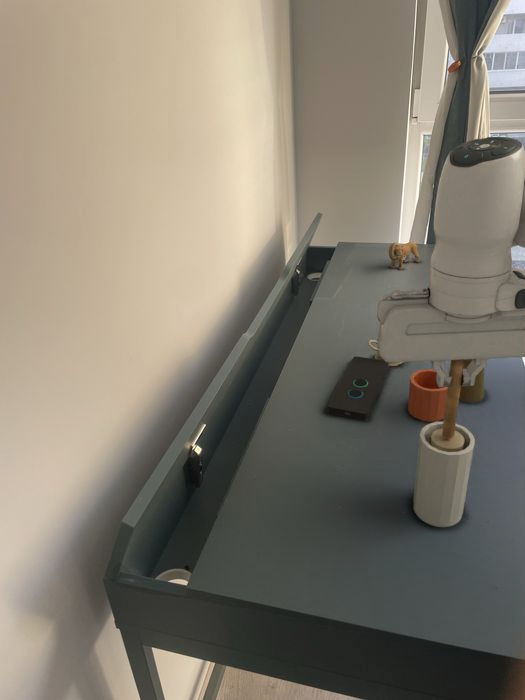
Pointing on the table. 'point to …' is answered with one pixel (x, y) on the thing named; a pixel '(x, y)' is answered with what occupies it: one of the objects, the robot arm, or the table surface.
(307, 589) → the table surface
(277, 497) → the table surface
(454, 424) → the bottle brush
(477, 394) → the olive pepper mill
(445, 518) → the white cylindrical cup
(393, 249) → the lion figurine
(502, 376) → the table surface
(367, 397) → the smart home device
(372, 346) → the decorative ornament
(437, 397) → the brush holder
